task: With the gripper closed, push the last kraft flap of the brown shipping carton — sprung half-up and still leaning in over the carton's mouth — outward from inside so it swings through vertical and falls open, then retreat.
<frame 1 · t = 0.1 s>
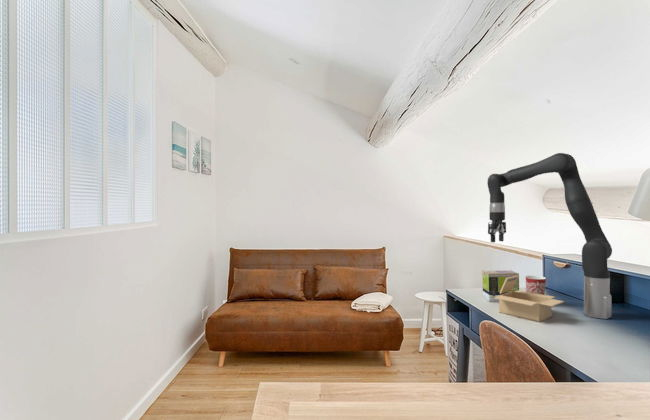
hand: (497, 241, 199), 29 cm above the table, fingers open, 8 cm apart
tea box: (500, 300, 192), on the table
flap: (509, 284, 171), point 12 cm above the table, hinge at -23.1°
mug: (534, 304, 185), on the table
carton: (524, 314, 166), on the table
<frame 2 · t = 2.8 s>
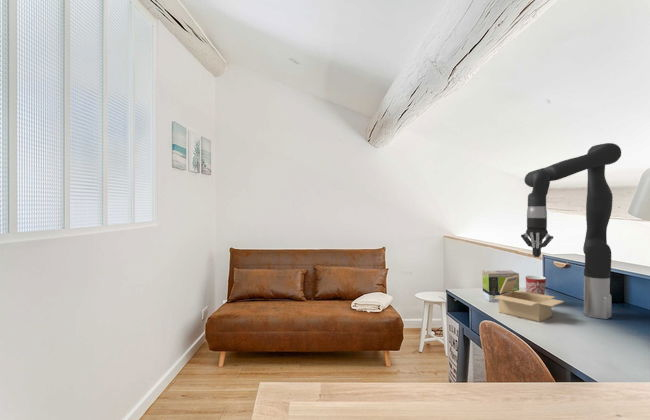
hand: (536, 256, 162), 26 cm above the table, fingers closed
nothing on the table moved.
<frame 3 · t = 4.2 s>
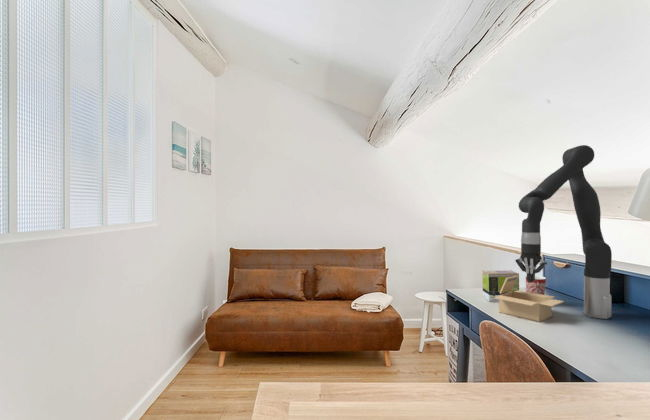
hand: (530, 281, 164), 15 cm above the table, fingers closed
nothing on the table moved.
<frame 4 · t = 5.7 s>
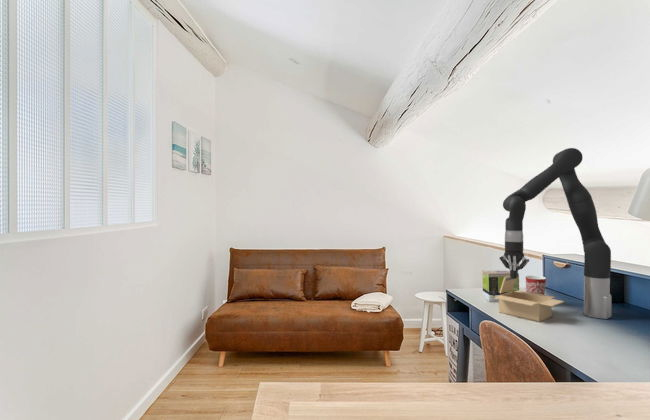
hand: (513, 278, 170), 15 cm above the table, fingers closed
flap: (508, 283, 172), point 13 cm above the table, hinge at -16.4°, touching gripper
everything else where it was.
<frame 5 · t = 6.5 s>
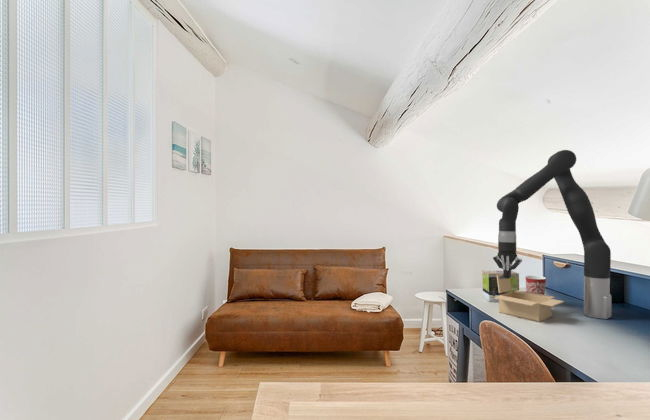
hand: (507, 278, 172), 15 cm above the table, fingers closed
flap: (504, 282, 173), point 13 cm above the table, hinge at 8.5°
everything else where it was.
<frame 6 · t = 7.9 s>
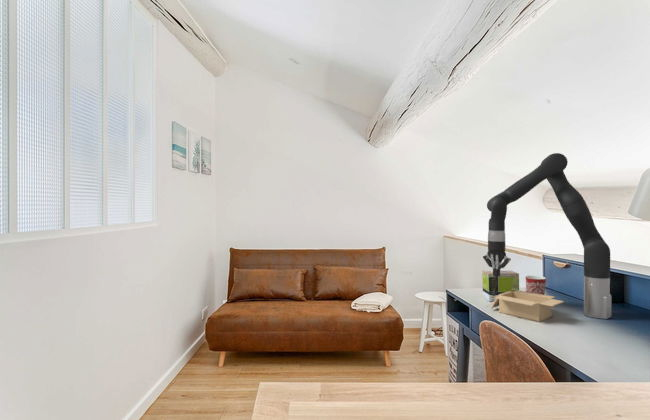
hand: (496, 276, 176), 15 cm above the table, fingers closed
flap: (500, 299, 175), point 5 cm above the table, hinge at 150.1°
everything else where it was.
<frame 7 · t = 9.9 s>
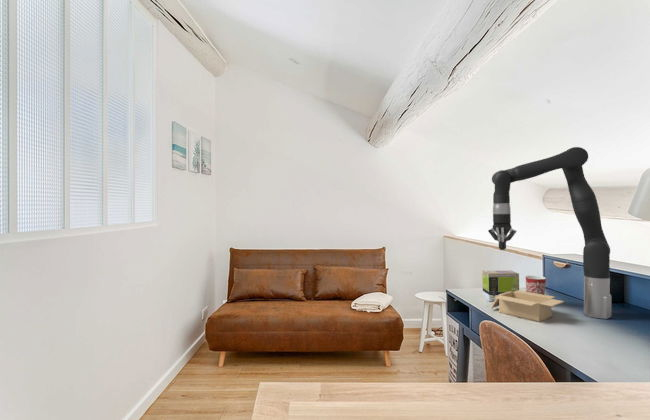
hand: (502, 249, 176), 28 cm above the table, fingers closed
nothing on the table moved.
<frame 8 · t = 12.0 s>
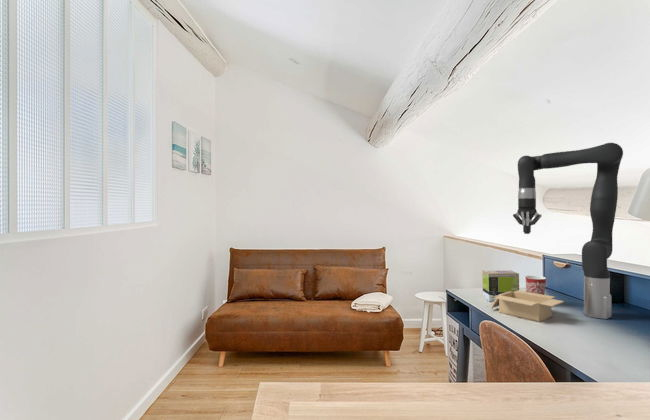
hand: (526, 233, 179), 35 cm above the table, fingers closed
nothing on the table moved.
at the end: flap at +150° (first picture: -23°) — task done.
